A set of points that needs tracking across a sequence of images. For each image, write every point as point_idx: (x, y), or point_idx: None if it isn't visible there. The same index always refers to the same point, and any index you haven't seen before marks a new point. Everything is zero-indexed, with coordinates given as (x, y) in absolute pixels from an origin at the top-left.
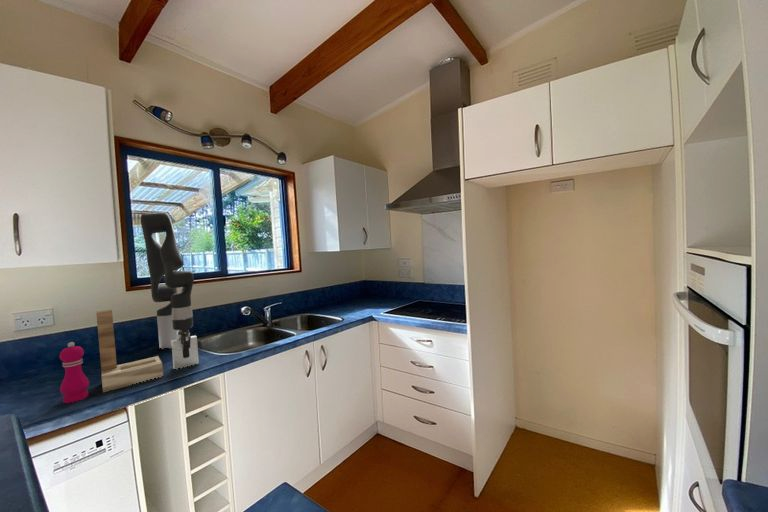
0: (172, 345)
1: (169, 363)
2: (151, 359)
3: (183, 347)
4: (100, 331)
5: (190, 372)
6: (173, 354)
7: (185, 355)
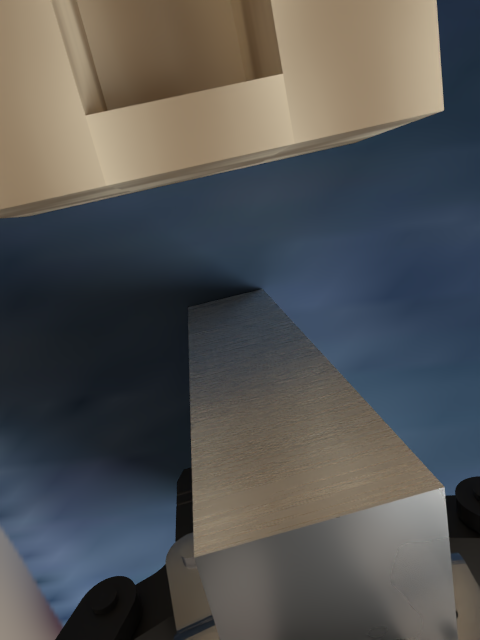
0: (223, 459)
1: (466, 234)
2: (303, 14)
3: (82, 620)
4: None
5: (5, 454)
6: (189, 373)
7: (180, 492)
